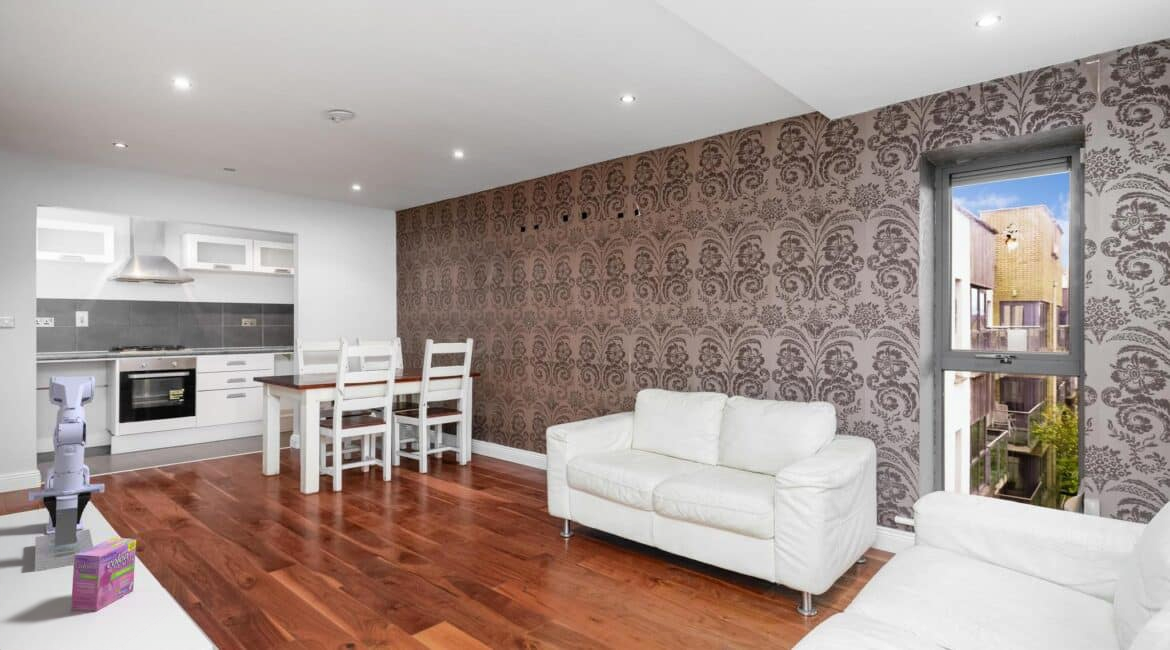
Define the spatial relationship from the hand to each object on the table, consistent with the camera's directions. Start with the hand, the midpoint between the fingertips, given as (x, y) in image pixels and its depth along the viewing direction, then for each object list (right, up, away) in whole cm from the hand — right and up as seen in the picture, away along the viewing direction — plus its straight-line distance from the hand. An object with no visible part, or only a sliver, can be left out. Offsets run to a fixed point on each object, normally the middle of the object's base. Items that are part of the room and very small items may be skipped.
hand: (65, 524), depth 154 cm
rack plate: (-3, -8, +3) cm, 9 cm away
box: (+26, -10, -21) cm, 35 cm away
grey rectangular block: (0, -5, 0) cm, 5 cm away
